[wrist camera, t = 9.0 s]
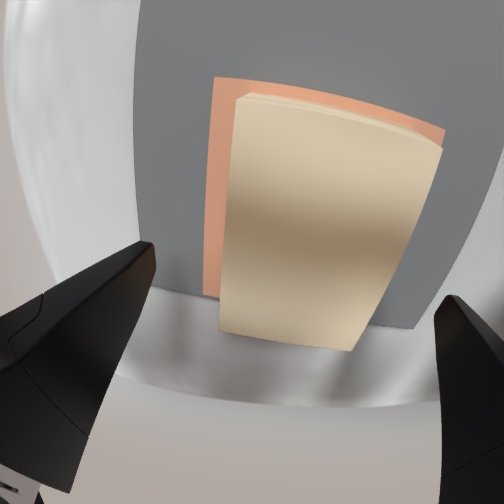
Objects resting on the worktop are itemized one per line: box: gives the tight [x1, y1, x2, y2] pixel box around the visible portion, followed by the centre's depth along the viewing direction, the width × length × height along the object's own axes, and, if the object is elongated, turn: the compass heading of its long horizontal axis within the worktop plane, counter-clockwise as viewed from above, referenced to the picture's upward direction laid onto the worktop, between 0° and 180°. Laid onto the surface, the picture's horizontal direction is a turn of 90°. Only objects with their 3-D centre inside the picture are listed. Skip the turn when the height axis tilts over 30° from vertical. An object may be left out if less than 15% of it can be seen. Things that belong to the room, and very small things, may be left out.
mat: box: [133, 0, 504, 329], centre depth 9 cm, size 14×18×1 cm
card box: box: [218, 92, 443, 351], centre depth 10 cm, size 8×6×2 cm, turn 173°
